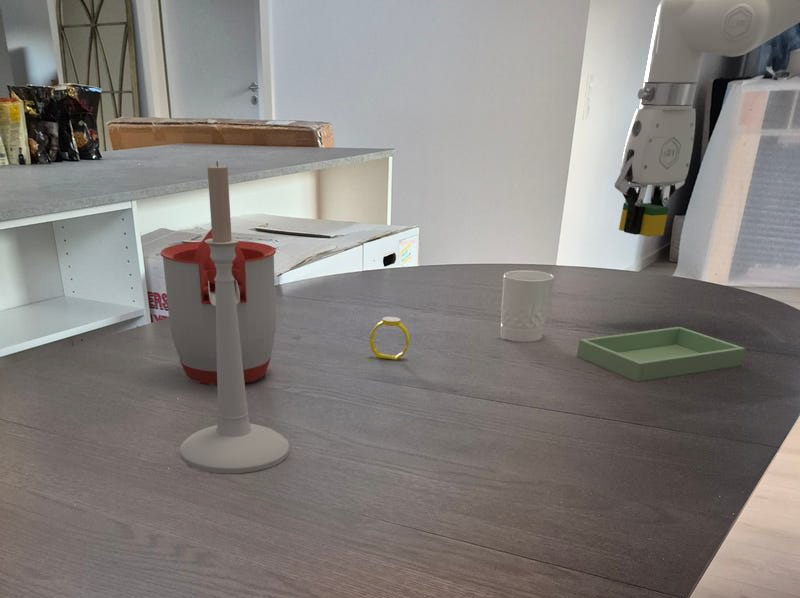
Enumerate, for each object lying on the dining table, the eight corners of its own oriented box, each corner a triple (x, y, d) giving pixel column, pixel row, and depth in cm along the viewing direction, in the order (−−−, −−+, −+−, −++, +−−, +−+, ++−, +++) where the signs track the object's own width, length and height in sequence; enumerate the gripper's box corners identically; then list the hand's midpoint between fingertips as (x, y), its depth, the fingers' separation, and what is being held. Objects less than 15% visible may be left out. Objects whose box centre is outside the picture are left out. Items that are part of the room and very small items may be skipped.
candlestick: (300, 436, 104) (296, 156, 87) (272, 478, 93) (261, 169, 77) (202, 428, 106) (179, 154, 89) (164, 468, 96) (129, 166, 79)
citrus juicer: (173, 398, 116) (157, 239, 104) (172, 362, 130) (157, 218, 118) (287, 392, 118) (283, 235, 106) (273, 357, 132) (268, 215, 120)
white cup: (491, 343, 138) (499, 278, 133) (501, 331, 144) (508, 268, 139) (540, 348, 136) (549, 282, 130) (548, 336, 142) (557, 272, 136)
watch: (367, 359, 131) (369, 319, 127) (371, 354, 133) (372, 315, 130) (406, 362, 130) (408, 322, 126) (409, 357, 132) (411, 317, 129)
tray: (675, 346, 137) (679, 326, 135) (739, 369, 127) (745, 348, 125) (575, 360, 131) (579, 339, 129) (635, 385, 120) (639, 363, 118)
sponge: (632, 228, 140) (638, 201, 138) (663, 235, 135) (669, 207, 132) (618, 229, 139) (623, 202, 136) (648, 236, 134) (654, 208, 131)
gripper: (641, 99, 121) (615, 239, 131) (727, 97, 126) (696, 232, 137) (607, 97, 126) (584, 232, 137) (690, 96, 132) (663, 226, 142)
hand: (640, 231), depth 137 cm, fingers closed on sponge, 3 cm apart
